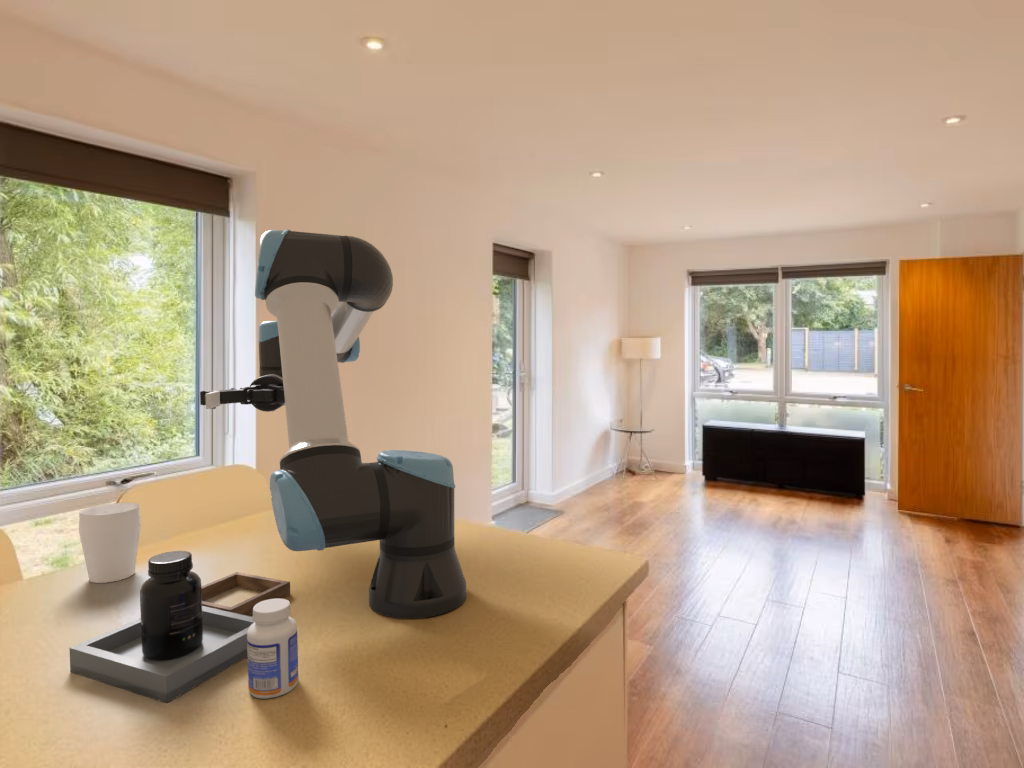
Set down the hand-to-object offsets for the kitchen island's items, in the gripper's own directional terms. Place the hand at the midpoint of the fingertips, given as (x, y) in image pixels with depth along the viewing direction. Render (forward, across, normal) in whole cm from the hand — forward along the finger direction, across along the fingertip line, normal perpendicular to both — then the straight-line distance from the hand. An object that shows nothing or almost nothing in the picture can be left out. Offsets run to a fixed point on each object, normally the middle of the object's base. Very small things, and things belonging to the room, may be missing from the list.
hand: (249, 400), depth 106 cm
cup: (-2, +23, -31) cm, 39 cm away
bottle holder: (+15, 0, -30) cm, 34 cm away
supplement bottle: (+32, +4, -30) cm, 44 cm away
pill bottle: (+42, -10, -30) cm, 53 cm away
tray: (+32, +3, -30) cm, 44 cm away
